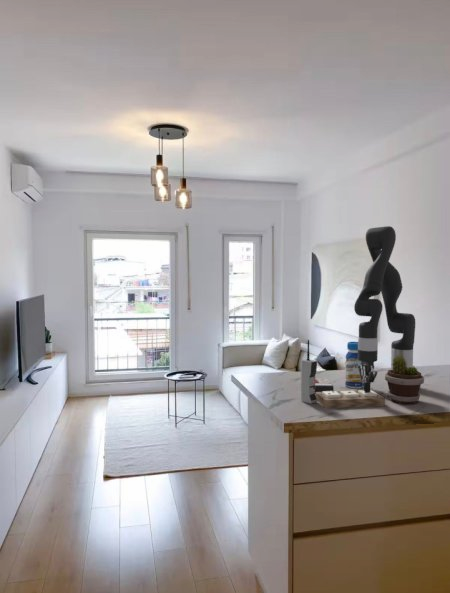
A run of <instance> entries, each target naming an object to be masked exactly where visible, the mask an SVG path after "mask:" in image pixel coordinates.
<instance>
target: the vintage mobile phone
mask: <svg viewBox="0 0 450 593" xmlns="http://www.w3.org/2000/svg"><path fill="white" fill-rule="evenodd" d="M317 369H318V360H313V359H310V339H307V351H306V359H302V360H301V370H300V371H301V372H300V373H301V376H300V377H301V383H300V386H301V387H300V388H301V391H300V392H301V397H300V399H301V402H302V403H307V404H310V405H311V404H315V403H317V402H318V401H317V398H316V395H315V379H316V374H317Z"/></svg>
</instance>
